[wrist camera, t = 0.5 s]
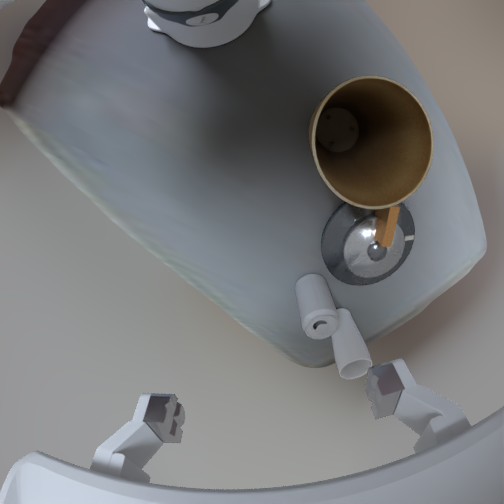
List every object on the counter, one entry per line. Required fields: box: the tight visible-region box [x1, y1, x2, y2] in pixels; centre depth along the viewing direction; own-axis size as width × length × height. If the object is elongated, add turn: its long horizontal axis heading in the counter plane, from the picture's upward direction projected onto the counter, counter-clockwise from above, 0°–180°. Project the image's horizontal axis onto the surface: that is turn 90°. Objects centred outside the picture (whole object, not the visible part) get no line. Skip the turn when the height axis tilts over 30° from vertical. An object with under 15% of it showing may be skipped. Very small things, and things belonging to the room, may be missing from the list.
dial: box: [342, 205, 405, 278], centre depth 44 cm, size 16×12×5 cm
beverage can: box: [295, 274, 339, 339], centre depth 49 cm, size 6×6×12 cm
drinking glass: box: [331, 308, 372, 379], centre depth 52 cm, size 7×7×15 cm
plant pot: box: [309, 76, 434, 209], centre depth 32 cm, size 15×15×16 cm
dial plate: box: [321, 202, 415, 285], centre depth 48 cm, size 19×19×2 cm
